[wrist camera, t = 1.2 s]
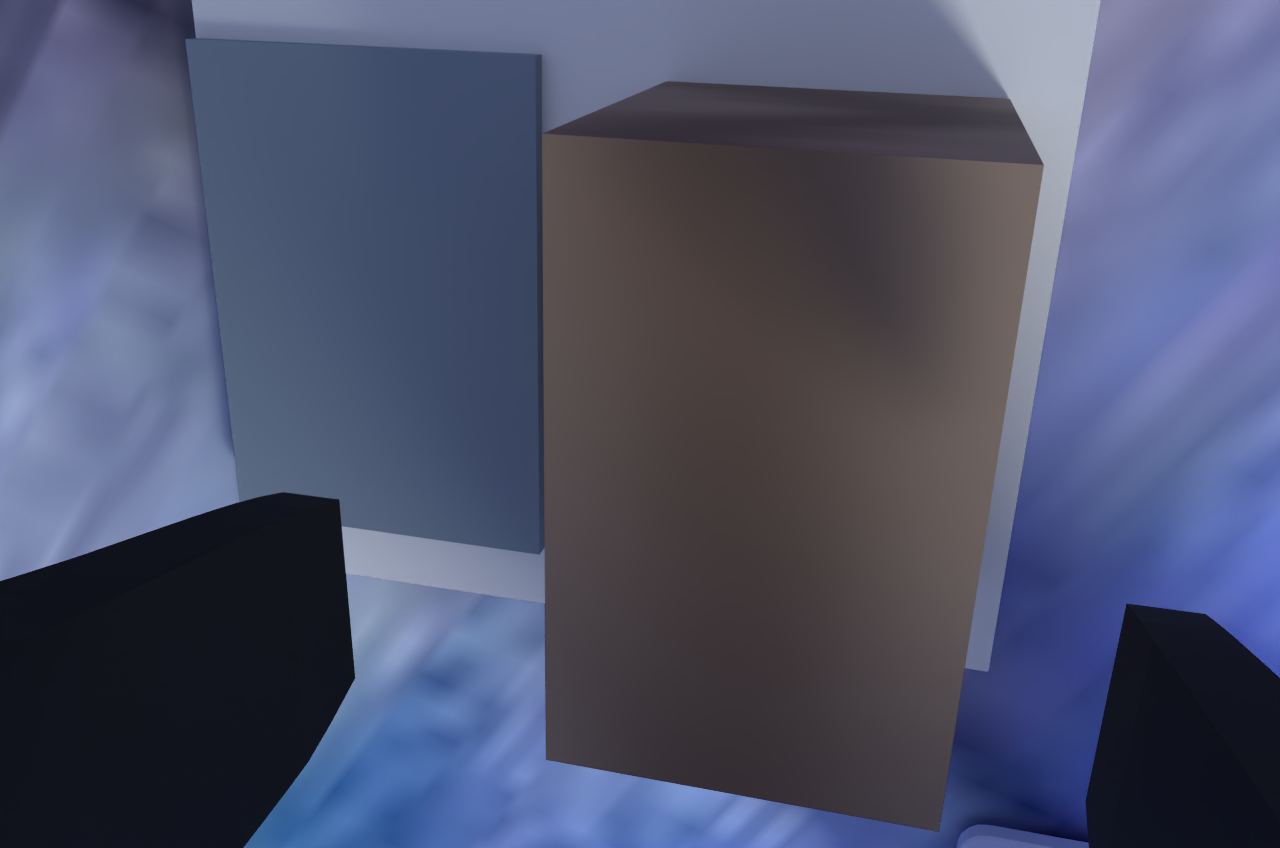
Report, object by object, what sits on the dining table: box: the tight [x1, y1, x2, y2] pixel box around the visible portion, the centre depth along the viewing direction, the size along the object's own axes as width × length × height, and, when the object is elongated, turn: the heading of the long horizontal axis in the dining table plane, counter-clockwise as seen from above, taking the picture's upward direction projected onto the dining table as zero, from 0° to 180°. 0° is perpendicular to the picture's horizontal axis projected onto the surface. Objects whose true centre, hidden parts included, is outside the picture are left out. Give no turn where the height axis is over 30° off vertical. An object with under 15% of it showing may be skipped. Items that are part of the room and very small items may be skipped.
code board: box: [192, 0, 1101, 672], centre depth 19 cm, size 14×11×1 cm
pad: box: [185, 38, 545, 555], centre depth 20 cm, size 6×9×1 cm
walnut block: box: [542, 81, 1044, 832], centre depth 16 cm, size 5×8×6 cm, turn 179°
